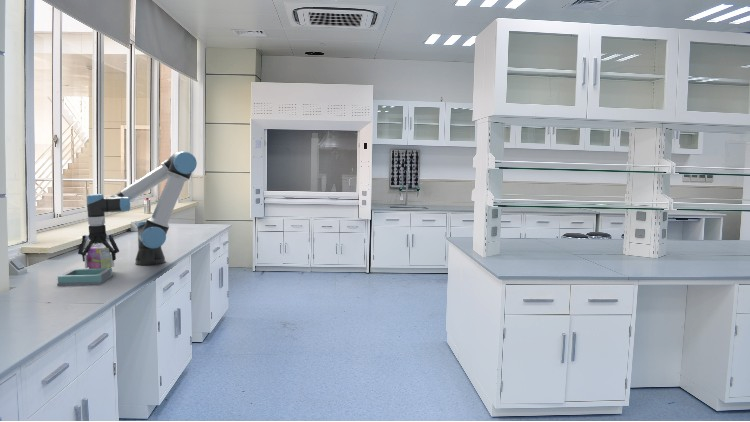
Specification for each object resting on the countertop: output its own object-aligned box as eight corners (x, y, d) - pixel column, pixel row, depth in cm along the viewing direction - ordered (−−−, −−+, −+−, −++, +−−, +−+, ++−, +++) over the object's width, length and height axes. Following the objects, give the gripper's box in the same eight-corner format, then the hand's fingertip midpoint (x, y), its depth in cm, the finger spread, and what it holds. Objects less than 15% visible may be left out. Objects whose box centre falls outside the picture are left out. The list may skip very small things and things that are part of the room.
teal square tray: (113, 275, 258) (112, 267, 258) (99, 284, 240) (98, 275, 240) (73, 276, 255) (73, 268, 255) (57, 285, 238) (56, 277, 237)
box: (88, 270, 267) (86, 247, 265) (98, 268, 272) (97, 246, 270) (101, 272, 262) (99, 249, 260) (111, 270, 267) (110, 247, 265)
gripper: (124, 223, 269) (127, 264, 272) (74, 224, 266) (77, 266, 268) (119, 225, 262) (122, 267, 264) (68, 226, 259) (71, 269, 261)
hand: (99, 267), depth 266 cm, fingers closed on box, 11 cm apart
